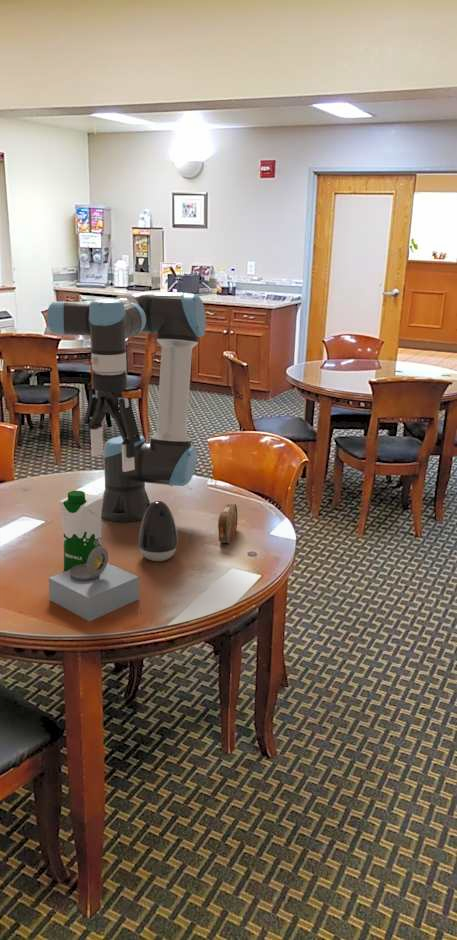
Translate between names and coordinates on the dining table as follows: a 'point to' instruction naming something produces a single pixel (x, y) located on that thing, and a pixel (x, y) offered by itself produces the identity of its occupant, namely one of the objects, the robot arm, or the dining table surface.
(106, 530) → the dining table surface
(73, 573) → the pocket watch
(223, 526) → the tin
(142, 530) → the black glossy egg shape
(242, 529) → the dining table surface
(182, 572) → the dining table surface
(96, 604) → the base block
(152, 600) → the dining table surface
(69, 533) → the milk carton
